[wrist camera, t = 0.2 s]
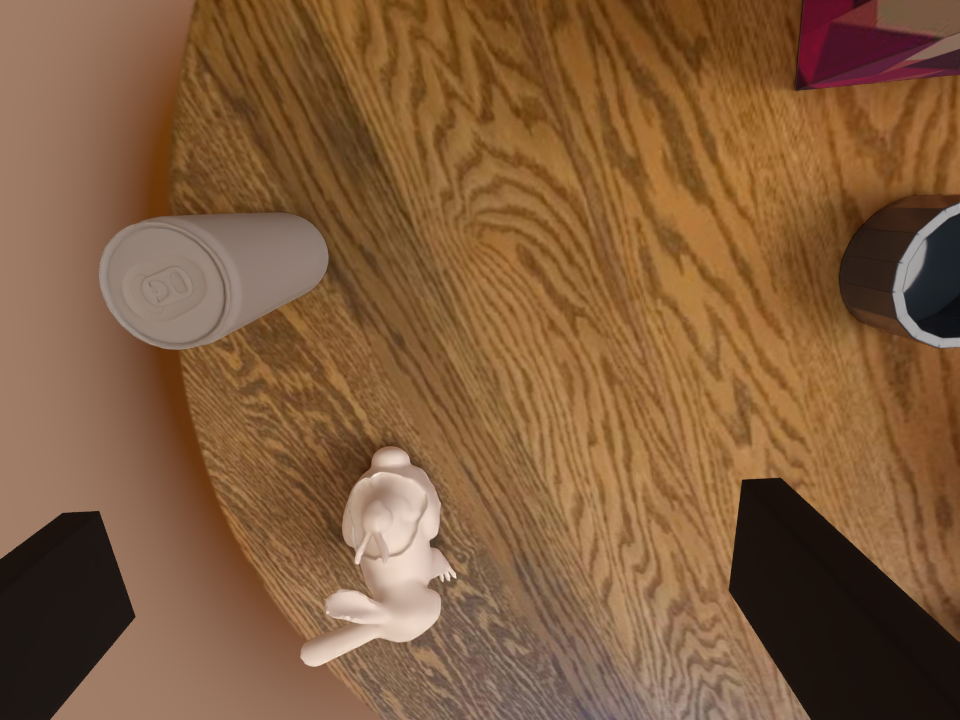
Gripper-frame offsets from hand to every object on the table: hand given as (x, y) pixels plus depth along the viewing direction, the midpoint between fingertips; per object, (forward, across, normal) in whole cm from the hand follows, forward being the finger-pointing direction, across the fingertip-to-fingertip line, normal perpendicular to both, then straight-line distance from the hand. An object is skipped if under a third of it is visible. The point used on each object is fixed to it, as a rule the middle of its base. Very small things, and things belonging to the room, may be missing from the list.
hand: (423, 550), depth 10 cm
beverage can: (+21, -10, +5) cm, 23 cm away
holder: (+21, +26, +2) cm, 34 cm away
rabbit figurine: (+21, -6, -14) cm, 26 cm away
